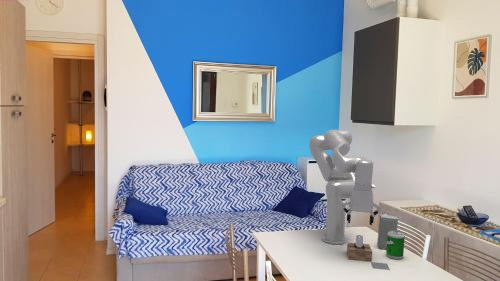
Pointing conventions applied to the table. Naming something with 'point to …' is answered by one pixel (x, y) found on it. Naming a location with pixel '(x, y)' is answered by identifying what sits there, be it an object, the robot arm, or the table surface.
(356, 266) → the table surface
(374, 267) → the mat
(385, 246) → the skincare box
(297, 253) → the table surface
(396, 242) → the soda can
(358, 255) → the hole block
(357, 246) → the peg
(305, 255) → the table surface
